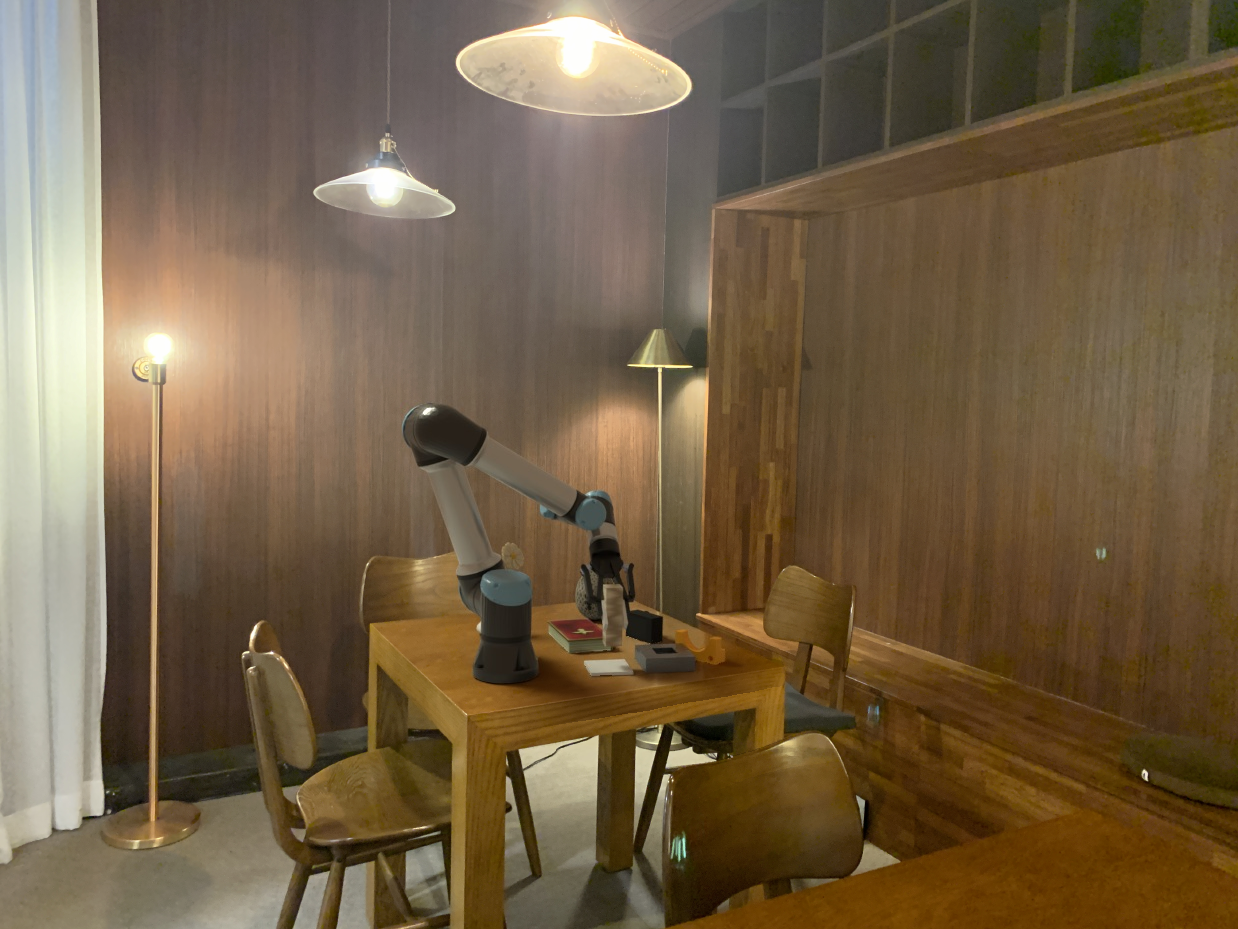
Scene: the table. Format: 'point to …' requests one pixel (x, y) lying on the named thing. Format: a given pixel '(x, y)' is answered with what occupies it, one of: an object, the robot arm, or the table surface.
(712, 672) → the table surface
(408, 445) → the robot arm
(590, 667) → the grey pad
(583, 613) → the decorative egg
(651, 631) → the black rectangular block
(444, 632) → the table surface
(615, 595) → the birch peg
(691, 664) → the socket block
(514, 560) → the flower in vase
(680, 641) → the pipe clamp
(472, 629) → the table surface
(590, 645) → the hardcover book
